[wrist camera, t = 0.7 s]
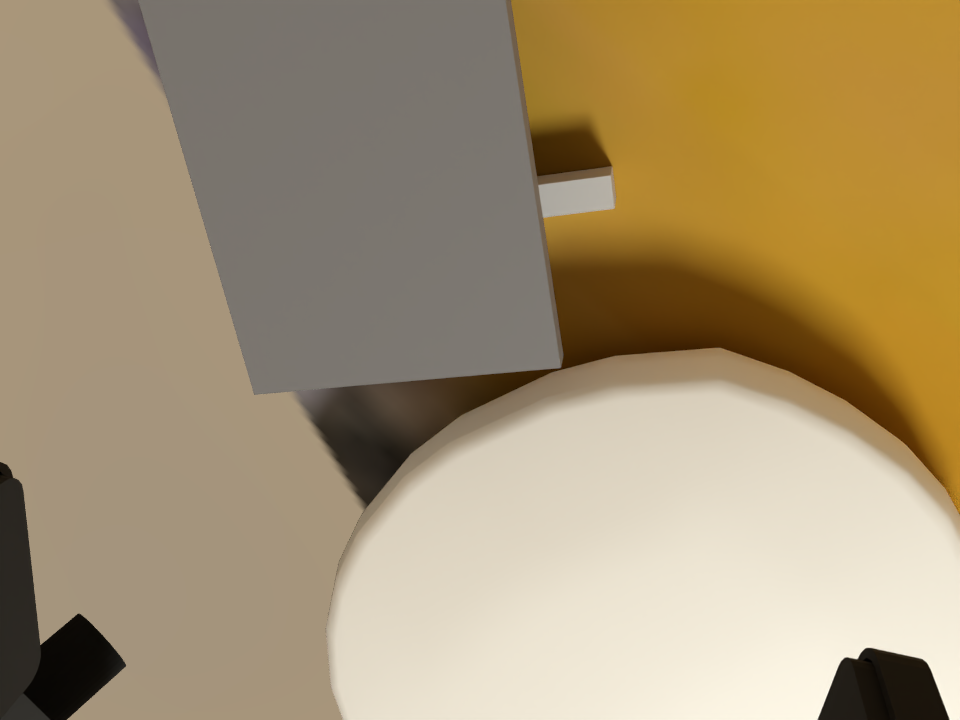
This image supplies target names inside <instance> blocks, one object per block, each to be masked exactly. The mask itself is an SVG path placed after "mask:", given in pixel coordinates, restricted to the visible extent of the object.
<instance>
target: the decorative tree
mask: <svg viewBox="0 0 960 720" xmlns="http://www.w3.org/2000/svg"><path fill="white" fill-rule="evenodd" d="M40 648H41V658H40V663H39V667H38V670H37V672H36V674H35V676H34V678H33V680H32V682H31V683H30V685H29V686H28V687H27V688H26V690H25V691H24V692H23V693H22V694H21V696H20V697H19V698H18V699H17V700H16V701H15V703H14V704H13V705H12V706H11V707H10V709H9V710H8V711H7V712H6V713H5V715H4V716H3V717H2V718H1V719H0V720H67V719H68V718H69V717H70V716H71V715H72V714H73V713H75V712H76V711H77V710H78V709H79V708H80V707H81V706H82V705H83V704H84V703H86V702H87V701H88V700H89V699H90V698H91V697H92V696H93V695H95V693H97V692H98V691H99V690H100V689H101V688H102V687H103V686H105V685H106V684H107V683H108V682H109V681H110V680H111V679H112V678H113V677H114V676H116V675H117V674H118V673H119V672H120V671H121V670H122V669H123V668H124V667H126V664H125V662H124V661H123V659H122V658H121V657H120V655H119V654H118V653H117V652H116V650H115V649H114V648H113V647H112V646H111V644H110V643H109V642H108V641H107V640H106V639H105V638H104V637H103V635H101V633H100V632H99V631H98V630H97V629H96V628H95V627H94V626H93V625H92V624H91V623H90V622H89V621H88V620H87V619H86V618H84V617H83V616H82V615H81V614H77V615H76V616H75V617H74V618H72V620H70V621H69V622H68V623H66V624H65V625H64V626H63V627H62V628H61V629H59V630H58V631H57V632H56V633H55V634H53V635H52V636H51V637H50V638H49V639H48V640H46V641H45V642H44V643H43V644H41V645H40Z"/></svg>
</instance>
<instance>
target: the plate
mask: <svg viewBox="0 0 960 720" xmlns="http://www.w3.org/2000/svg"><path fill="white" fill-rule="evenodd" d="M326 638H327V649H328V659H329V671H330V681H331V689H332V691H333V694H334V697H335V699H336V702H337V705H338V707H339V710H340V713H341V715H342V718H343V720H818V717H819V715H820V712H821V710H822V707H823V705H824V702H825V699H826V697H827V694H828V692H829V689H830V687H831V684H832V681H833V679H834V676H835V674H836V671H837V669H838V666H839V664H840V662H841V661H842V660H843V659H844V658H846V657H849V658H853V659H858V657H859V655H860V653H861V652H862V651H863V650H864V649H865V648H874V649H878V650H883V651H888V652H892V653H897V654H902V655H907V656H911V657H916V658H921V659H923V660H924V661H926V662H927V664H928V665H929V667H930V669H931V671H932V674H933V677H934V679H935V682H936V685H937V687H938V690H939V693H940V695H941V698H942V701H943V703H944V706H945V709H946V711H947V714H948V717H949V719H950V720H960V515H959V513H958V511H957V509H956V508H955V506H954V504H953V502H952V500H951V498H950V496H949V494H948V493H947V491H946V489H945V488H944V487H943V486H942V484H941V483H940V482H939V481H938V480H937V479H936V478H935V477H934V476H933V474H932V473H931V472H930V471H929V470H928V469H927V468H926V467H925V465H924V464H923V463H922V462H921V461H920V460H919V459H918V458H917V456H916V455H915V454H914V453H913V452H912V451H911V450H910V449H909V448H908V446H907V445H905V444H904V443H903V442H902V441H901V440H899V439H898V438H897V437H895V436H894V435H893V434H891V433H890V432H888V431H887V430H886V429H884V428H883V427H881V426H880V425H879V424H877V423H876V422H875V421H873V420H872V419H870V418H869V417H868V416H866V415H865V414H864V413H862V412H861V411H859V410H858V409H857V408H855V407H854V406H853V405H851V404H850V403H848V402H847V401H846V400H844V399H842V398H840V397H838V396H836V395H834V394H832V393H830V392H828V391H826V390H824V389H822V388H820V387H818V386H816V385H814V384H812V383H811V382H809V381H807V380H805V379H803V378H801V377H799V376H797V375H795V374H793V373H791V372H789V371H787V370H784V369H781V368H778V367H775V366H772V365H769V364H766V363H763V362H760V361H758V360H755V359H752V358H749V357H746V356H743V355H740V354H737V353H734V352H731V351H729V350H726V349H723V348H707V349H695V350H682V351H669V352H657V353H644V354H631V355H619V356H612V357H608V358H605V359H601V360H597V361H593V362H589V363H585V364H582V365H578V366H574V367H570V368H566V369H562V370H559V371H555V372H552V373H550V374H547V375H545V376H543V377H541V378H539V379H537V380H535V381H533V382H531V383H528V384H526V385H524V386H522V387H520V388H518V389H516V390H514V391H511V392H509V393H507V394H505V395H503V396H501V397H499V398H497V399H495V400H492V401H490V402H488V403H486V404H484V405H482V406H480V407H478V408H475V409H473V410H471V411H469V412H467V413H465V414H463V415H461V416H459V417H458V418H457V419H456V420H454V421H453V422H452V423H450V424H449V425H448V426H446V427H445V428H444V429H443V430H441V431H440V432H439V433H437V434H436V435H435V436H433V437H432V438H431V439H429V440H428V441H427V442H426V443H424V444H423V445H422V446H420V447H419V448H418V449H416V450H415V451H414V452H412V453H411V454H410V456H409V457H408V458H407V459H406V460H405V462H404V463H403V464H402V465H401V466H400V468H399V469H398V470H397V471H396V473H395V474H394V475H393V476H392V477H391V479H390V480H389V481H388V482H387V484H386V485H385V486H384V487H383V488H382V490H381V491H380V492H379V493H378V495H377V496H376V497H375V498H374V499H373V501H372V502H371V503H370V504H369V506H368V507H367V508H366V509H365V510H364V512H363V513H362V515H361V517H360V518H359V520H358V522H357V525H356V527H355V529H354V531H353V533H352V535H351V537H350V539H349V542H348V544H347V546H346V548H345V550H344V552H343V554H342V557H341V558H340V560H339V564H338V569H337V574H336V579H335V584H334V589H333V594H332V599H331V604H330V609H329V614H328V619H327V624H326Z"/></svg>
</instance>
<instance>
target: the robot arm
mask: <svg viewBox="0 0 960 720" xmlns="http://www.w3.org/2000/svg"><path fill="white" fill-rule="evenodd" d="M40 658H41V648H40V639H39V630H38V621H37V612H36V603H35V594H34V584H33V576H32V566H31V557H30V548H29V540H28V530H27V520H26V511H25V502H24V493H23V488H22V484H21V483H20V482H19V480H17V479H15V478H13V476H12V472H11V470H10V469H9V467H8V466H7V465H6V464H4V463H1V462H0V719H1V718H2V717H3V716H4V715H5V713H6V712H7V711H8V710H9V709H10V707H11V706H12V705H13V704H14V703H15V701H16V700H17V699H18V698H19V697H20V696H21V694H22V693H23V692H24V691H25V690H26V688H27V687H28V686H29V685H30V683H31V682H32V680H33V678H34V676H35V674H36V672H37V670H38V667H39V663H40ZM818 720H950V719H949V717H948V714H947V711H946V709H945V706H944V703H943V701H942V698H941V695H940V693H939V690H938V687H937V685H936V682H935V679H934V677H933V674H932V671H931V669H930V667H929V665H928V664H927V662H926V661H924V660H923V659H921V658H916V657H911V656H907V655H902V654H897V653H892V652H888V651H883V650H878V649H874V648H865V649H864V650H863V651H862V652H861V653H860V655H859V657H858V659H853V658H849V657H846V658H844V659H843V660H842V661H841V662H840V664H839V666H838V669H837V671H836V674H835V676H834V679H833V681H832V684H831V687H830V689H829V692H828V694H827V697H826V699H825V702H824V705H823V707H822V710H821V712H820V715H819V717H818Z"/></svg>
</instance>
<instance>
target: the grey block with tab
mask: <svg viewBox="0 0 960 720" xmlns="http://www.w3.org/2000/svg"><path fill="white" fill-rule="evenodd" d="M138 2H139V5H140V8H141V12H142V15H143V19H144V22H145V25H146V29H147V32H148V36H149V39H150V42H151V46H152V49H153V52H154V56H155V59H156V63H157V66H158V69H159V73H160V76H161V80H162V83H163V86H164V90H165V93H166V97H167V100H168V103H169V107H170V110H171V114H172V117H173V120H174V124H175V127H176V131H177V134H178V137H179V141H180V144H181V148H182V151H183V154H184V158H185V161H186V164H187V168H188V171H189V175H190V178H191V181H192V185H193V188H194V191H195V195H196V198H197V202H198V205H199V209H200V212H201V215H202V219H203V222H204V225H205V229H206V232H207V236H208V239H209V242H210V246H211V249H212V253H213V256H214V259H215V263H216V266H217V269H218V273H219V276H220V280H221V283H222V286H223V290H224V293H225V297H226V300H227V304H228V307H229V310H230V314H231V317H232V320H233V324H234V327H235V330H236V334H237V338H238V341H239V344H240V347H241V351H242V355H243V358H244V361H245V364H246V368H247V371H248V375H249V378H250V382H251V385H252V388H253V392H254V395H256V394H267V393H278V392H290V391H302V390H313V389H325V388H336V387H348V386H359V385H371V384H382V383H394V382H405V381H417V380H428V379H440V378H451V377H463V376H474V375H486V374H497V373H509V372H520V371H532V370H543V369H555V368H561V365H562V361H563V356H564V355H563V349H562V342H561V335H560V328H559V322H558V315H557V308H556V302H555V295H554V288H553V281H552V275H551V268H550V261H549V254H548V248H547V241H546V234H545V227H544V221H543V217H551V216H559V215H567V214H575V213H583V212H591V211H599V210H607V209H615V202H616V193H615V185H614V176H613V168H612V166H610V167H603V168H595V169H588V170H580V171H573V172H565V173H558V174H551V175H543V176H537V174H536V167H535V160H534V153H533V147H532V140H531V133H530V127H529V120H528V113H527V106H526V100H525V93H524V86H523V79H522V73H521V66H520V59H519V52H518V46H517V39H516V32H515V26H514V19H513V12H512V5H511V0H138Z"/></svg>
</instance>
